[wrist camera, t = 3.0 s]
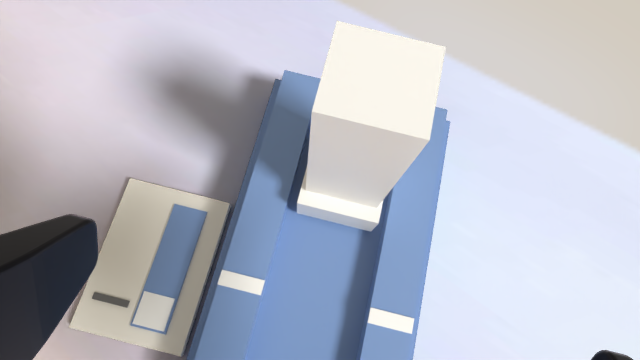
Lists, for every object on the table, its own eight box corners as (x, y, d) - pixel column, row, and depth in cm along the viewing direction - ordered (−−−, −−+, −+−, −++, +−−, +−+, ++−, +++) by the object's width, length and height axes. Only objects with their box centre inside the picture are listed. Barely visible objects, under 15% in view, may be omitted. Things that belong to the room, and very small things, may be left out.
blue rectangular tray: (388, 449, 17) (403, 472, 15) (182, 395, 18) (163, 409, 15) (440, 133, 22) (458, 111, 20) (276, 93, 22) (274, 66, 20)
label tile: (183, 355, 18) (179, 357, 18) (73, 327, 18) (66, 327, 18) (231, 205, 20) (229, 202, 20) (133, 180, 20) (128, 177, 20)
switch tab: (371, 231, 18) (434, 164, 10) (296, 213, 18) (297, 130, 10) (387, 150, 20) (456, 30, 11) (318, 133, 20) (334, 1, 11)
